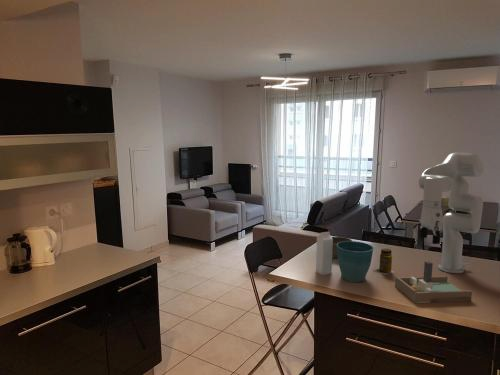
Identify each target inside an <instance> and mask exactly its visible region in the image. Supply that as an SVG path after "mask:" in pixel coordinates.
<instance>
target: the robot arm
mask: <svg viewBox="0 0 500 375" xmlns="http://www.w3.org/2000/svg"><path fill="white" fill-rule="evenodd" d="M483 173H484V164H483V162H482V160H481V158H480V157H479V155H478V154H476V153H474V152H451V153H449V154H448V155H447V156H446V157H445V159H444V160H443V161H442V162H441V163H439V164H437V165H435V166H431V167H428V168H427V169H425V170H424V171H423V173H421V175H420V177H419V179H418V187H419V189H421V190H423V194H422V196H423V197H422V209H421V214H420V218H418V222H419V223H418V225H419V229H420V233H419V237H420V239H427V238H428V230H431V231H432V232H433V235H432V240H431V242H432V244H433V245H439V244H441V243H440V242H441V236H442V247H441V260H440V261H441V263H439V264H437V269H438V270H440V271H443V272H445V273H451V274H462V273H465V269H464V267H465V268H466V267H468V268H469V267H470V263H469V262H464V261H462V256H463V247H464V246H463V244H464V239H463V236H462V235H461V233H460V232H463V233H468V234H477V233H478V232H479V231H480V228H481V223H482V218H483V217H482V214H483V208H484V200H483V197H482V196H480V195H479V194H471V193H470V194H469V188H470V185H469V184H470V183H469V182H468V180H467V179H466V178H465V177H468V178H469V177H472V178H477V177H481V176H482V174H483ZM447 192H449V195H448V204H447V206H448V208H449V209H450V210H453V211H459V212H460V213H459V212H447V213H445V214H444V215H443V209H442V204H443V203H442V200H443V199H442V198H443V193H447ZM461 212H466V213H470V214H466V213H461Z"/></svg>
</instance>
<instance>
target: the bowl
mask: <svg viewBox="0 0 500 375" xmlns="http://www.w3.org/2000/svg"><path fill="white" fill-rule="evenodd" d="M331 237H332V239H333V247H332V258H335V259H336V258H337V259H338V256H337V244H338V243H339V242H343V241H353V240H352V239H351V238H349V237H344V236H331Z"/></svg>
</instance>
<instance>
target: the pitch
mask: <svg viewBox="0 0 500 375" xmlns="http://www.w3.org/2000/svg"><path fill="white" fill-rule="evenodd" d="M423 278H424V276H407V277H405V276H402V277H398V276H397V277H395V279H394V287H395V289H397V290H399V291H400V293H402V294H403V295H404V296H406V297H407V298H408V299H409V300H411V301H412V302H413V303H414V304H423V303H450V302H452V303H453V302H471V301H472V294H473V293H472V292H473V291H472V290H468V289H467V290H462V289H460V288H458V287H456V286H455V285H454V284H451V282H448V278H449V277H448V276H447V275H441V276H433V275H432V279H431V282H432V283H440V285H433V289H430V288H426V291H423V290H422V289H420V288H419V287H418V279H423ZM413 285H415V286H417V287H418V289H419V290H418V292H417V291H416V290H415V289H413V288H412V287H411V286H413Z"/></svg>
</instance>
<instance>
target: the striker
mask: <svg viewBox="0 0 500 375" xmlns="http://www.w3.org/2000/svg"><path fill="white" fill-rule="evenodd" d="M433 266H434V265H433V262H431V261H424V265H423V277H424V278H423V279H418V287H419V288H420V289H422V290H423V291H426V288H430V289H433V285H440V283H432V282H431V279H432V276H433Z"/></svg>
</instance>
